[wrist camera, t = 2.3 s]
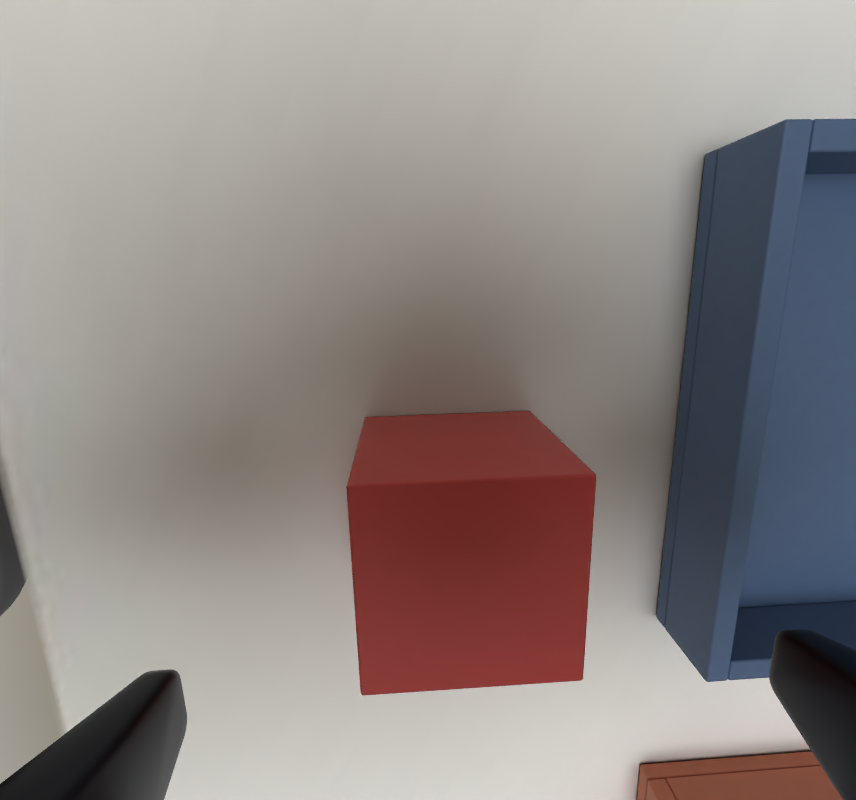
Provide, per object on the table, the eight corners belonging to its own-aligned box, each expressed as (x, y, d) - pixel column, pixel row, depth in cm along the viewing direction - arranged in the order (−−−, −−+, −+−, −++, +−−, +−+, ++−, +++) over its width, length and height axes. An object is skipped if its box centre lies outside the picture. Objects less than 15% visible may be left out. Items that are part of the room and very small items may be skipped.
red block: (372, 565, 14) (360, 696, 9) (364, 416, 13) (345, 485, 8) (526, 557, 14) (584, 681, 10) (530, 410, 13) (597, 474, 8)
